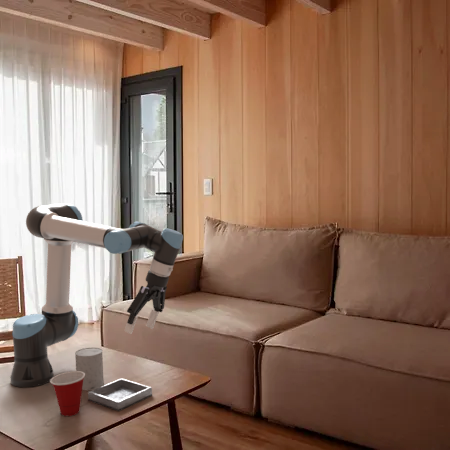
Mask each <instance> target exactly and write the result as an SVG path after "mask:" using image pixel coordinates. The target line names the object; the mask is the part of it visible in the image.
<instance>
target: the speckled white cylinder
mask: <svg viewBox="0 0 450 450" xmlns="http://www.w3.org/2000/svg"><path fill="white" fill-rule="evenodd" d="M74 356H75V371H80V372H84V373H85V377H84V380H83V386H82V391H91V390H94V389H96V388H99V387H101V386H104V385H105V381H104V380H105V379H104V361H103V359H104V358H103V349H102V348H100V347H85V348H80V349H78V350H76V351H75V352H74Z"/></svg>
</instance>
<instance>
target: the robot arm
mask: <svg viewBox="0 0 450 450" xmlns="http://www.w3.org/2000/svg"><path fill="white" fill-rule="evenodd" d="M25 218H26V219H25V225H26V228H27V230H28V232H29V233H30V234H31V235H32V236H34V237H36V238H40V239H43V240H44V241H45V242H46V243H47V259H46V261H47V262H46V264H47V265H46V290H45V291H46V292H45V297H46V298H45V304H44V305H43V306H42V307H41V313H33V314H28V315H27V314H26V315H24V316H21V317H19V318H17V319H16V320H14V322H13V324H12V334H11V335H12V341H13V342H12V343H13V345H12V346H13V356H14V358H13V359H14V362H13V366H12V370H11V374H10V376H9V377H10V378H9V379H10V384H11V385H12V386H14V387H18V388H32V387H38V386H41V385H46V384H47V383H50V380H51V379H52V378H53V377H54V376H55V375H54V373H55V372H54V369H53V367H52V364H51V362H50V359H49V356H48V347H51V346H53V345H55V344H57V343H61V342H64V341H67V340H68V339H70V338H71V337H73V336H74V335H75V334H76V333H77V331H78V328H79V318H78V316H77V313H76V312H75V311H74V306H72V305H71V304H70V289H71V288H70V286H71V285H70V284H71V261H72V260H71V259H72V258H71V257H72V244H73V243H78V244H82V245H87V246H91V247H95V248H101V249H104V250H107V251H108V252H109V253H110V254H112V255H113V254H115V255H116V254H119V255H120V254H121V255H122V254H125V253H126V252H127V253H128V252H131V251H135V250H139V249H146V250H148V251H151V252H153V253H154V254H153V257H152V260H151V262H150V266H149V267H148V269H149V270H148V271H147V274H146V277H145V282H146V283H147V285H146V286H143V285H141V286H140V288H139V290H138V292H137V294H136V295H135V296H134V299H133V300H132V302H131V304H130V305H129V306H128V308H127V310H126V312H127V313H129V316H128V319H127V322H126V324H125V327H124V330H123V331H124V332H125V333H127V334H130V335H132V333H133V331H134V329H135V325H136V323H137V320H138V318H139V316H138V315H139V313H140V312H141V311H142V309H143V308H144V307H145V306H146V304H147V303H148V302H150V301H152V307H153V308H151V310H150V312H149V316H148V319H147V322H146V324H145V327H147V328H149V329H151V330H153V329H154V327H155V324H156V322H157V318H158V317H159V313H163V311H164V308H165V302H166V301H165V300H166V292H167V288H168V286H167V285H168V282H169V280H170V277H169V276H171V273H172V272H173V270H174V269H173V268H174V266H175V263H176V260H177V257H178V254H179V252H180V249H181V248H182V244H183V239H184V235H183V234H182V233H181V232H179V231H177V230H174V229H171V228H168V227H166V228H163V229H162V230H159V229H156V228H155V227H152V226H150V225H148V224H147V223H143V222H141V221H134V222H133V223H131V224H130V225H129V226H128V227H127V228H118V227H115V226H114V227H113V226H110V225H105V224H99V223H94V222H88V221H84V220H83V216H82V213H81V211H80V210H79V209H78V207H77V206H75V205H74V204H73V203H72V204H71V203H61V202H60V203H59V202H58V203H53V204H44V205H37V206H35V207H33V208H32V209H31V210H30V211H28V214H27V215H26V217H25Z"/></svg>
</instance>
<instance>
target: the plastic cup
mask: <svg viewBox="0 0 450 450" xmlns="http://www.w3.org/2000/svg"><path fill="white" fill-rule="evenodd" d="M84 377H85V373H84V372H80V371H76V370H74V371H67V372H62V373H59V374H57V375H54V377H53V378H52V379H51V380H50V381H49V383H50V384H51V385H52V387H53V390H54V392H55V396H56V401H57V404H58V408H59V412H60V415H61V416H63V415H64V417H72V416H75V415H77V414H79V413H80V410H81V402H82V395H83V394H82V393H83V390H82V386H83V380H84Z"/></svg>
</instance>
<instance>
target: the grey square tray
mask: <svg viewBox="0 0 450 450" xmlns="http://www.w3.org/2000/svg"><path fill="white" fill-rule="evenodd" d="M152 396H153V388H152V386H148V385H146V384H142V383H138V382H136V381H132V380H128V379H125V378H121V377H120V378H118V379H116V380H114V381H111V382H108V383H107V384H104V385H103V386H101V387H99V388H96V389H93V390H88V391H87V399H88V401H89V402H92V403H95V404H97V405H100V406H103V407H106V408H109V409H111V410H114V411H117V412H120V411H123V410H124V409H125V410H126V409H127V408H129V407H131V406H134V405H135V404H138V403H139V402H142V401H145V400H146V399H148V398H150V397H152Z"/></svg>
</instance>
